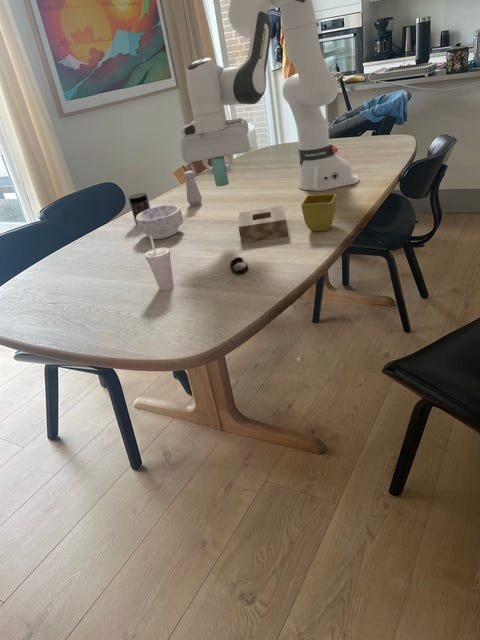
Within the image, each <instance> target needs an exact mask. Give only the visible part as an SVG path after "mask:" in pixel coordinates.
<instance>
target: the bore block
mask: <svg viewBox="0 0 480 640" xmlns="http://www.w3.org/2000/svg"><path fill="white" fill-rule="evenodd" d="M286 216H287V215H286V212H285V207H284V205H280V206H273V207H267V208H261V209H254V210H249V211H242V212H239V213H238V226H237V227H238V231H239V239H240V243H241V244H243V243H251V242H257V241H263V240H269V239H277V238H283V237H289V232H288V231H289V230H288V225H287V224H288V223H287V217H286Z"/></svg>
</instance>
